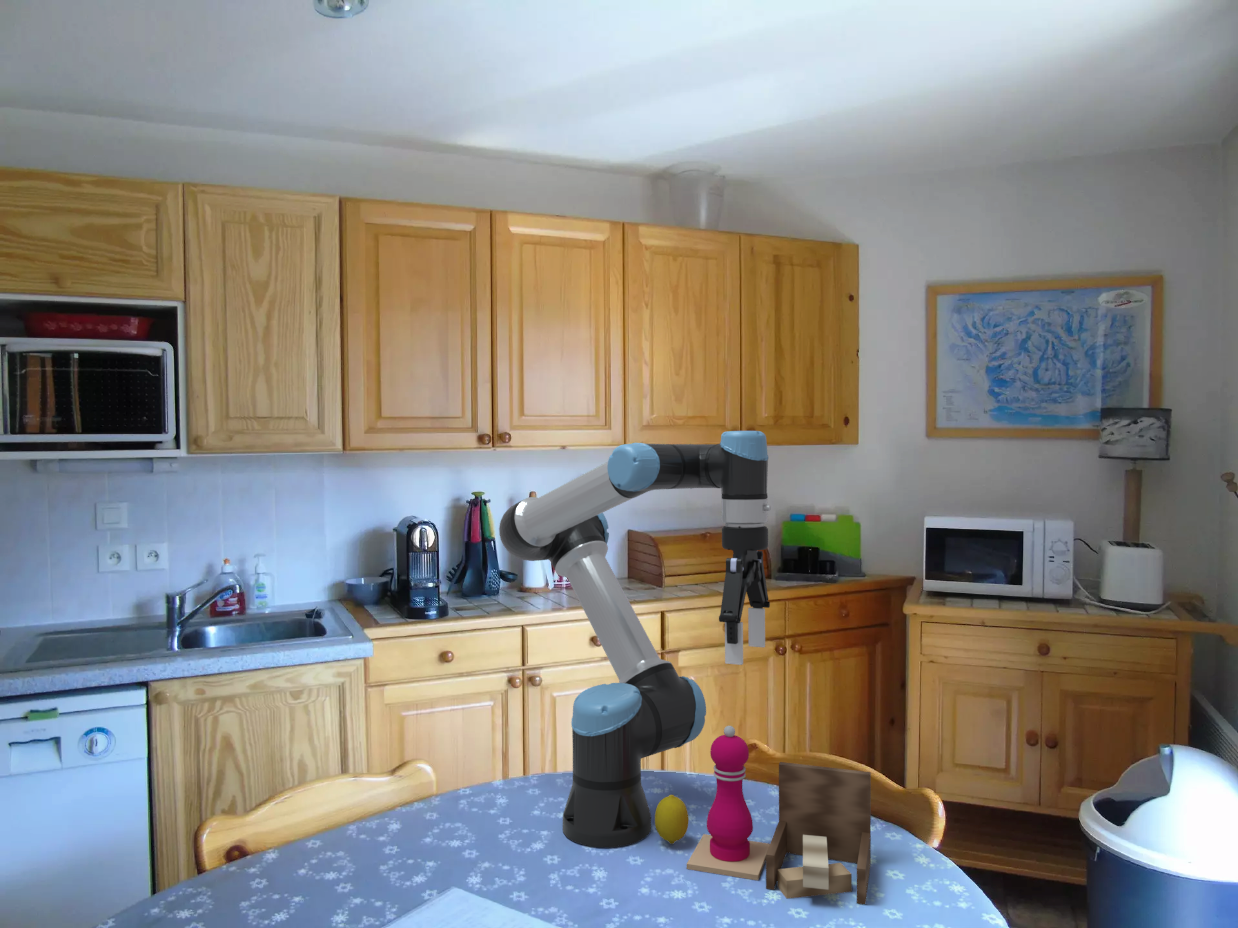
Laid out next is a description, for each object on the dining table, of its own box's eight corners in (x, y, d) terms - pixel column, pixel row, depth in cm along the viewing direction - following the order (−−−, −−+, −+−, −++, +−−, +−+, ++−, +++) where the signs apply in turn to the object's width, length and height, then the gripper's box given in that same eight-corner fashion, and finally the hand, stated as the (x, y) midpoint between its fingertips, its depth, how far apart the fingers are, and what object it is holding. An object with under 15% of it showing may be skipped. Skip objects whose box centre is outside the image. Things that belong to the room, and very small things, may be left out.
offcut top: (828, 889, 119) (828, 868, 119) (802, 886, 120) (802, 865, 120) (826, 856, 129) (826, 836, 129) (802, 854, 129) (802, 834, 129)
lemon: (693, 839, 140) (693, 791, 140) (681, 853, 135) (681, 803, 135) (662, 833, 142) (662, 786, 142) (649, 847, 137) (649, 798, 137)
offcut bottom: (786, 901, 121) (786, 880, 121) (777, 889, 125) (777, 868, 125) (851, 894, 123) (851, 873, 123) (840, 882, 127) (840, 862, 127)
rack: (766, 888, 124) (765, 792, 124) (780, 848, 137) (779, 761, 137) (865, 904, 120) (865, 805, 119) (870, 861, 132) (870, 772, 132)
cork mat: (686, 868, 130) (686, 863, 130) (703, 838, 141) (703, 833, 141) (758, 880, 127) (758, 874, 127) (770, 848, 137) (770, 843, 137)
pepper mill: (712, 839, 138) (711, 717, 138) (756, 845, 136) (756, 721, 136) (702, 859, 132) (701, 730, 131) (748, 866, 129) (748, 735, 129)
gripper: (746, 531, 126) (747, 673, 126) (785, 520, 149) (786, 641, 149) (698, 530, 129) (699, 669, 129) (743, 519, 152) (744, 638, 152)
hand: (746, 654), depth 139 cm, fingers open, 13 cm apart
